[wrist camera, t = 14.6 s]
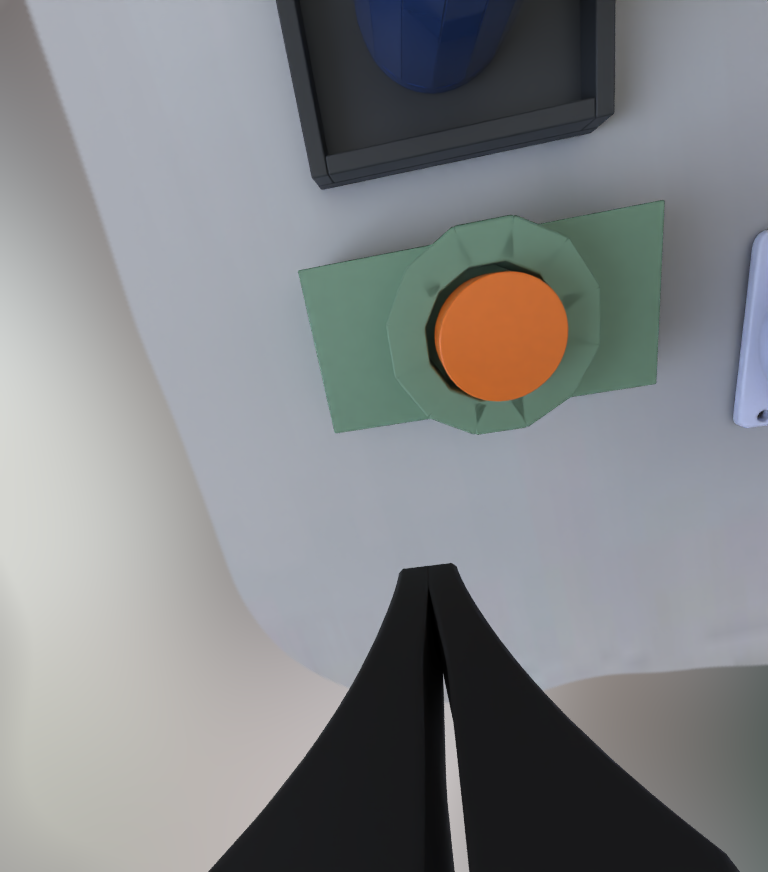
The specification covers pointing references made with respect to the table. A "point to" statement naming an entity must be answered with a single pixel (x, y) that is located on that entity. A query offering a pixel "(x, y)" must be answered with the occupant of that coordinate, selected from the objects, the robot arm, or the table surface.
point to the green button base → (457, 263)
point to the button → (501, 335)
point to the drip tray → (448, 111)
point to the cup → (434, 38)
